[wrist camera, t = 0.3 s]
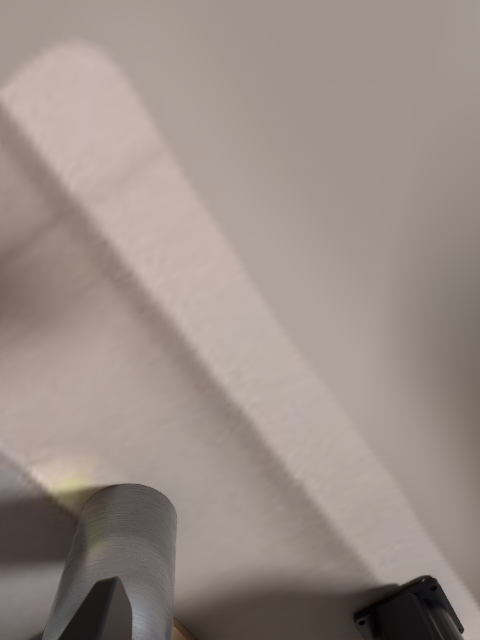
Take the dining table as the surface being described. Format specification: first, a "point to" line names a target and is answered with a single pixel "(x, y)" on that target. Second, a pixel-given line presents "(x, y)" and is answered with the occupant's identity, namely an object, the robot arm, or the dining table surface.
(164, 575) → the tea tin
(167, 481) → the dining table surface
